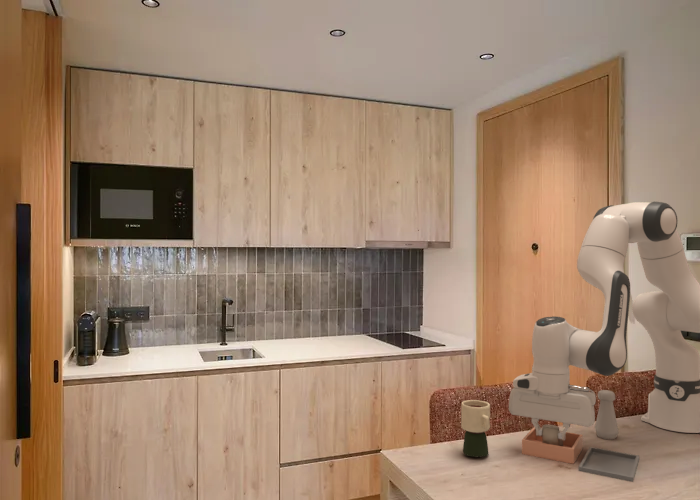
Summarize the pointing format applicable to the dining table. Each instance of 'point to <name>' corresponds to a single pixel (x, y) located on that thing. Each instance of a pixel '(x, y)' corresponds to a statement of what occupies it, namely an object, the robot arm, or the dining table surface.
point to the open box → (553, 447)
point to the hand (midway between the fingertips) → (550, 437)
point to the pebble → (550, 434)
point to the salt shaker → (606, 416)
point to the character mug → (475, 427)
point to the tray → (610, 463)
